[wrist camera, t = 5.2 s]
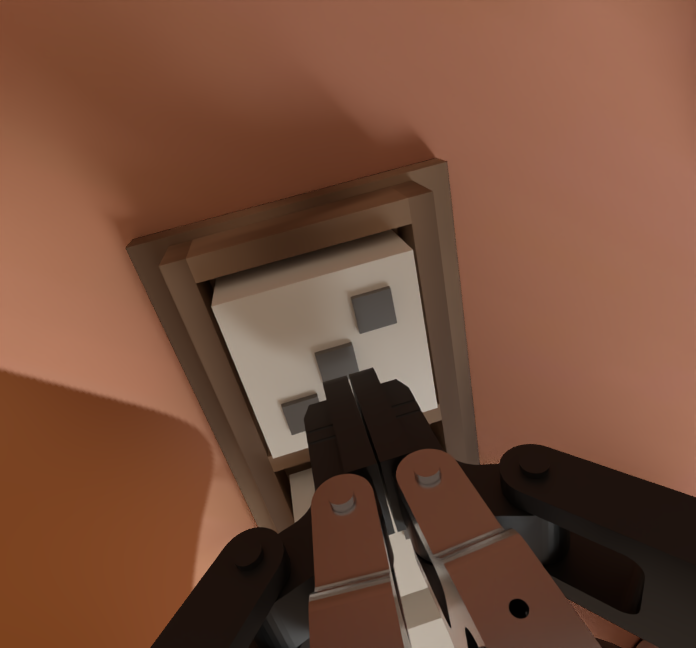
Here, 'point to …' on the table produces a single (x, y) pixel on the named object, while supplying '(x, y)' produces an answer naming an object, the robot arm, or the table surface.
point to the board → (291, 240)
